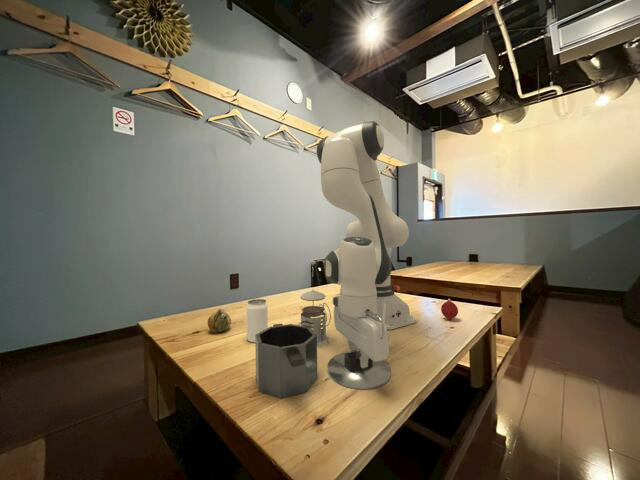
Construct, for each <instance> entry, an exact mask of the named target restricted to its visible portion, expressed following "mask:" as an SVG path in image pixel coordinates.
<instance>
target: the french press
mask: <svg viewBox="0 0 640 480" xmlns="http://www.w3.org/2000/svg"><path fill="white" fill-rule="evenodd" d="M316 264H317V262H316V261H315V260H314V259H313V260H310V261H309V265H311V266H312V273H311V274H312V275H311V276H314V265H316ZM326 297H327V295H325V294H324V293H322V292H320V291H318V290H317V291H316V290H309V291H306V292H304V293H302V294H301V295H300V296H299V298H300V300H303V301H307V302H318V301H323V300H325V298H326ZM325 306H326V307H327V309H328V311H329V312H328V313H329V321H328V317H327V316H328V315H327V311H326V309H325ZM301 311H302V312H301V313H300V326H306V327H310V328H311V329H312V330H313V332H314V333H315V334H316V335H317V347H321V346H325V345H327V344H328V343H329V341H330V339H329V337H328V336H327V334H326V332H327V330H326V329H327V327H328V326H329V325H330V323H331V318H332V317H331V315H332V313H331V309H330V307H329V305H328V304H327V303H326V302H323V304H322V303H319V305H318V306H317V305H314V304H312V305H306V306H304V307H302V308H301ZM327 321H328V323H327Z"/></svg>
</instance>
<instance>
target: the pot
mask: <svg viewBox="0 0 640 480" xmlns="http://www.w3.org/2000/svg"><path fill="white" fill-rule="evenodd" d="M255 378H256V383H257V384H256V385H257V389H258V392H259V393H262V394H265V395H268V396H271V397H275V398H277V399H284V398H288V397H293V396H296V395H301V394H305V393H307V392H308V391H309V390H310V388H312V386H313V385H314V383H315V382H316V381H317V380H318V346H317V335H316V334H315V333H314V332H313V330H312V329H311V328H310V327H306V326H301V324H300V325H299V324H292V323H289V324H283V323H275V324H272V326H268V328H267V329H265V330H263V331H261V332H260V333H258V334H256V335H255Z"/></svg>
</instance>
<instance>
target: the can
mask: <svg viewBox="0 0 640 480" xmlns="http://www.w3.org/2000/svg"><path fill="white" fill-rule="evenodd" d="M268 311H269V310H268V304H267V300H266V299H263V298H259V299H258V298H255V299H250V300H248V301H247V306H246V340H247V341H248V342H250V343H252V344H254V343H255V335H256V334H258V333H260V332H261V331H263V330H265V329H267V328H269V325H268V322H269V321H268V319H269V317H268ZM255 344H256V343H255Z"/></svg>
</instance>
